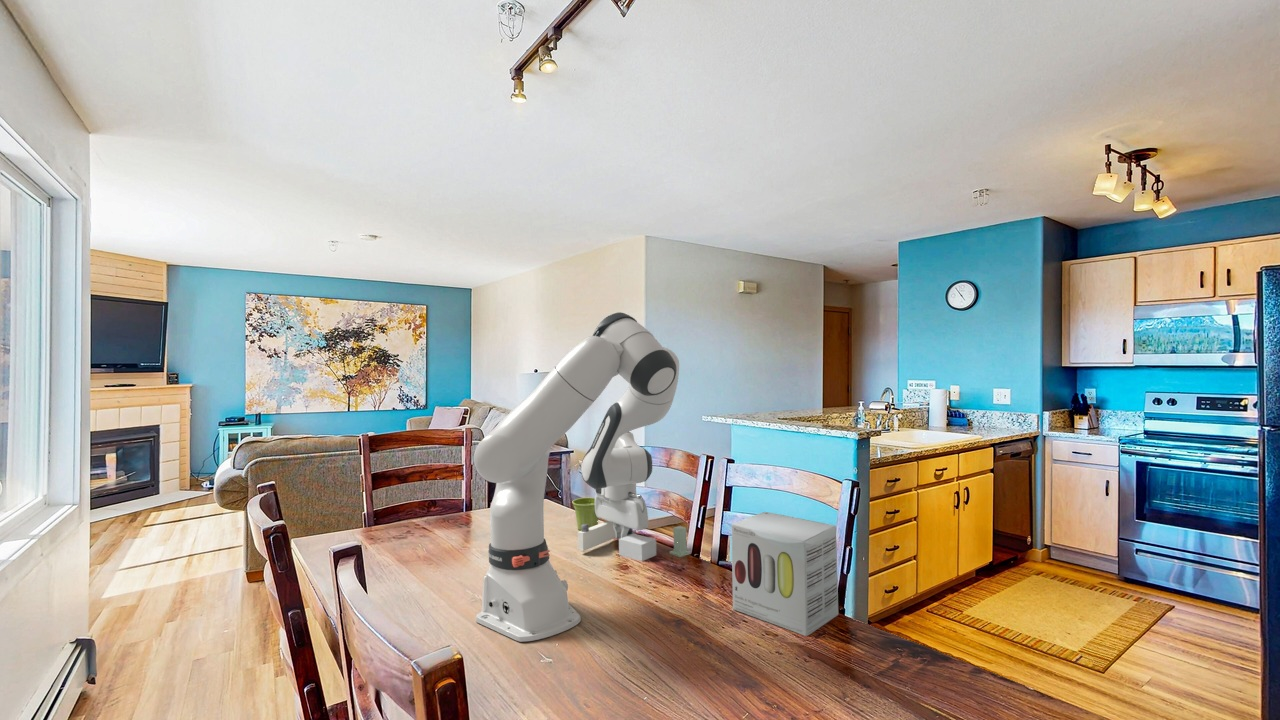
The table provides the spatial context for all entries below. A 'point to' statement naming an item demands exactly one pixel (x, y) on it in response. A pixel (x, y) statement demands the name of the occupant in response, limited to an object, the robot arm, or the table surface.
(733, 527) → the supplement box
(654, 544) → the light grey block
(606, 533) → the gate
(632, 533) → the hinge post
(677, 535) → the post
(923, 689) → the table surface
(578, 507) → the plant pot
